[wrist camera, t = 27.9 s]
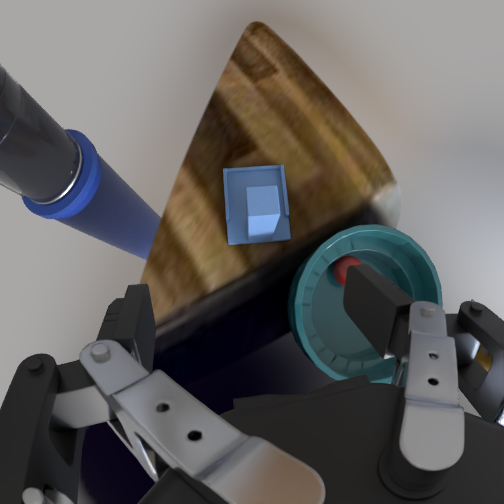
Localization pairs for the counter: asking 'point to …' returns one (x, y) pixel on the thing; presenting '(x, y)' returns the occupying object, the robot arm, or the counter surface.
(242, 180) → the blue base with post
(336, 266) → the bead
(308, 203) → the counter surface
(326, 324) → the teal ribbed bowl
